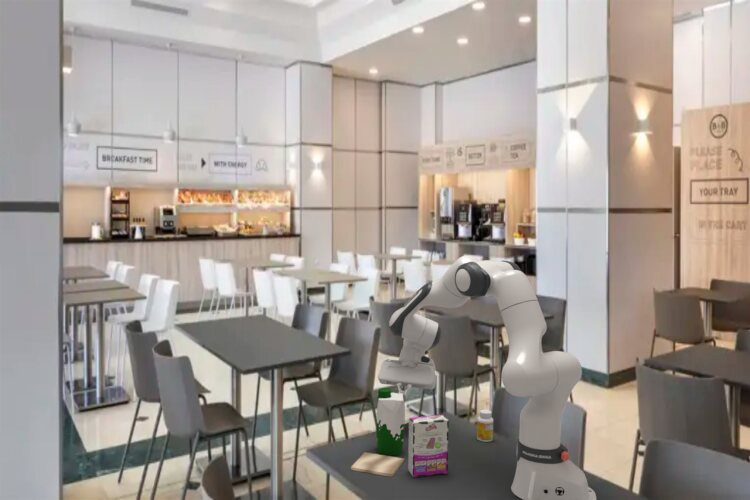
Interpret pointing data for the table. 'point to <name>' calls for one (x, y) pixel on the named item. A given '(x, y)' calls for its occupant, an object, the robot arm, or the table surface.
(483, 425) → the supplement bottle
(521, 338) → the robot arm
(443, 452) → the candy bar box
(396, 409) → the soya milk
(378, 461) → the oak board
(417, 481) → the table surface
